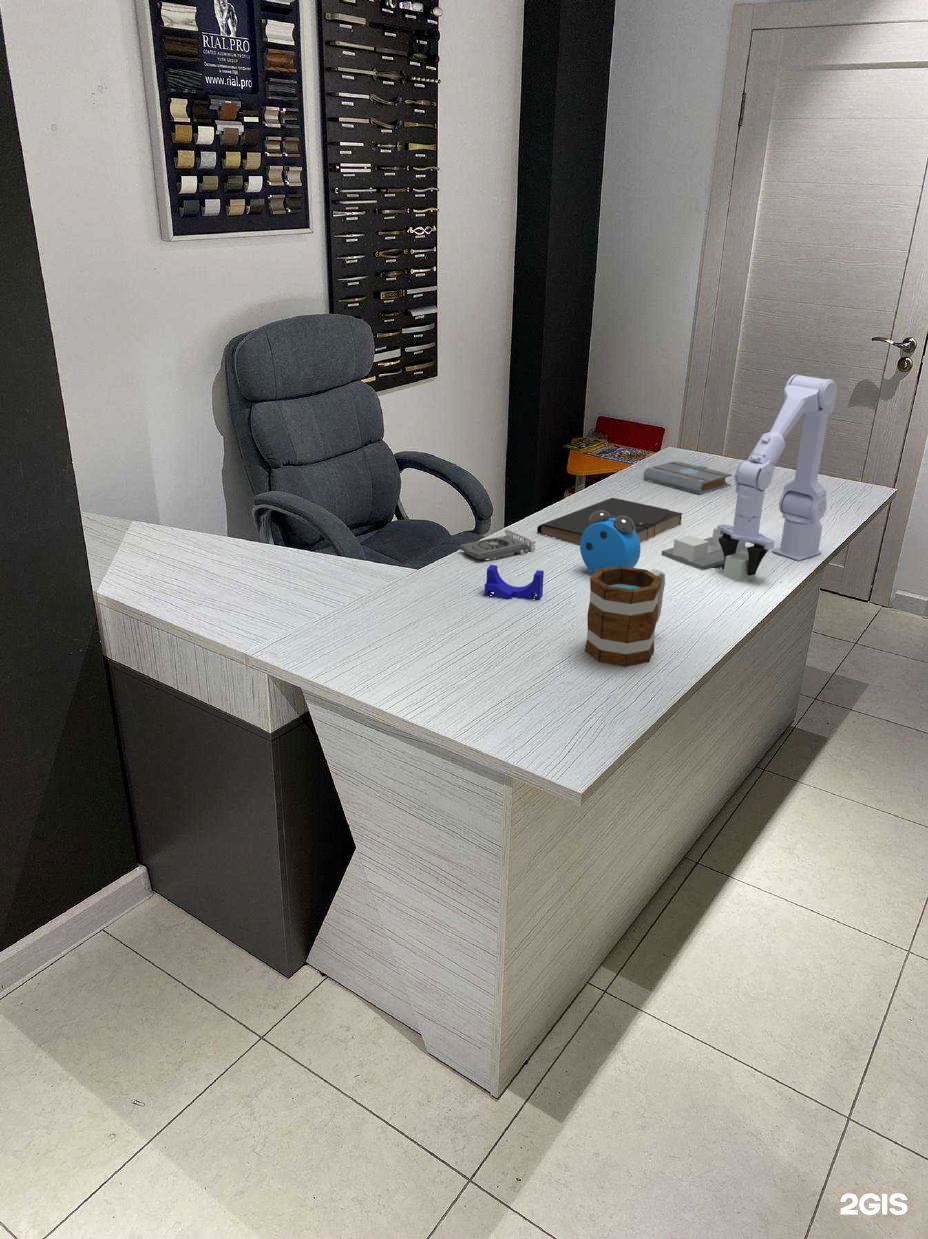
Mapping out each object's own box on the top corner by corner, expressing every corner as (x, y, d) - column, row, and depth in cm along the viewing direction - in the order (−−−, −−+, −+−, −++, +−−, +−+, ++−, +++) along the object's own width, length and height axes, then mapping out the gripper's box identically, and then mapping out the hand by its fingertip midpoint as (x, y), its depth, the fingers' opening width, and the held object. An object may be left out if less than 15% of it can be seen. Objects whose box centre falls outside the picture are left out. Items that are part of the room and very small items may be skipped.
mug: (628, 673, 175) (635, 598, 169) (570, 650, 184) (574, 578, 178) (685, 641, 188) (694, 570, 182) (628, 622, 197) (635, 553, 191)
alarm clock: (638, 579, 219) (644, 516, 213) (623, 586, 215) (629, 522, 209) (592, 565, 227) (596, 504, 221) (576, 571, 223) (580, 510, 217)
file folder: (616, 541, 232) (537, 521, 247) (615, 557, 234) (536, 536, 248) (683, 511, 255) (607, 495, 270) (682, 526, 257) (606, 509, 271)
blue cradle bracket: (484, 597, 208) (485, 571, 206) (489, 589, 212) (490, 564, 210) (538, 604, 205) (539, 578, 203) (542, 596, 209) (543, 570, 207)
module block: (739, 571, 225) (742, 551, 223) (755, 576, 222) (758, 556, 220) (723, 576, 222) (725, 556, 220) (738, 582, 218) (741, 561, 216)
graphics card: (508, 527, 243) (536, 540, 233) (508, 541, 244) (535, 554, 235) (452, 539, 235) (478, 552, 225) (452, 553, 236) (478, 567, 227)
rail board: (714, 539, 246) (715, 534, 245) (756, 553, 236) (756, 548, 235) (661, 554, 234) (662, 549, 234) (702, 570, 225) (703, 564, 224)
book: (642, 481, 297) (644, 466, 295) (675, 473, 307) (676, 458, 305) (698, 496, 283) (700, 480, 281) (730, 487, 293) (732, 471, 291)
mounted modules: (725, 539, 243) (727, 524, 241) (745, 546, 238) (747, 530, 237) (672, 554, 231) (674, 539, 230) (691, 561, 227) (693, 546, 226)
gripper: (711, 509, 219) (704, 564, 224) (763, 525, 208) (755, 583, 214) (730, 504, 223) (723, 558, 228) (783, 520, 212) (774, 576, 218)
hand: (740, 570), depth 221 cm, fingers open, 6 cm apart
